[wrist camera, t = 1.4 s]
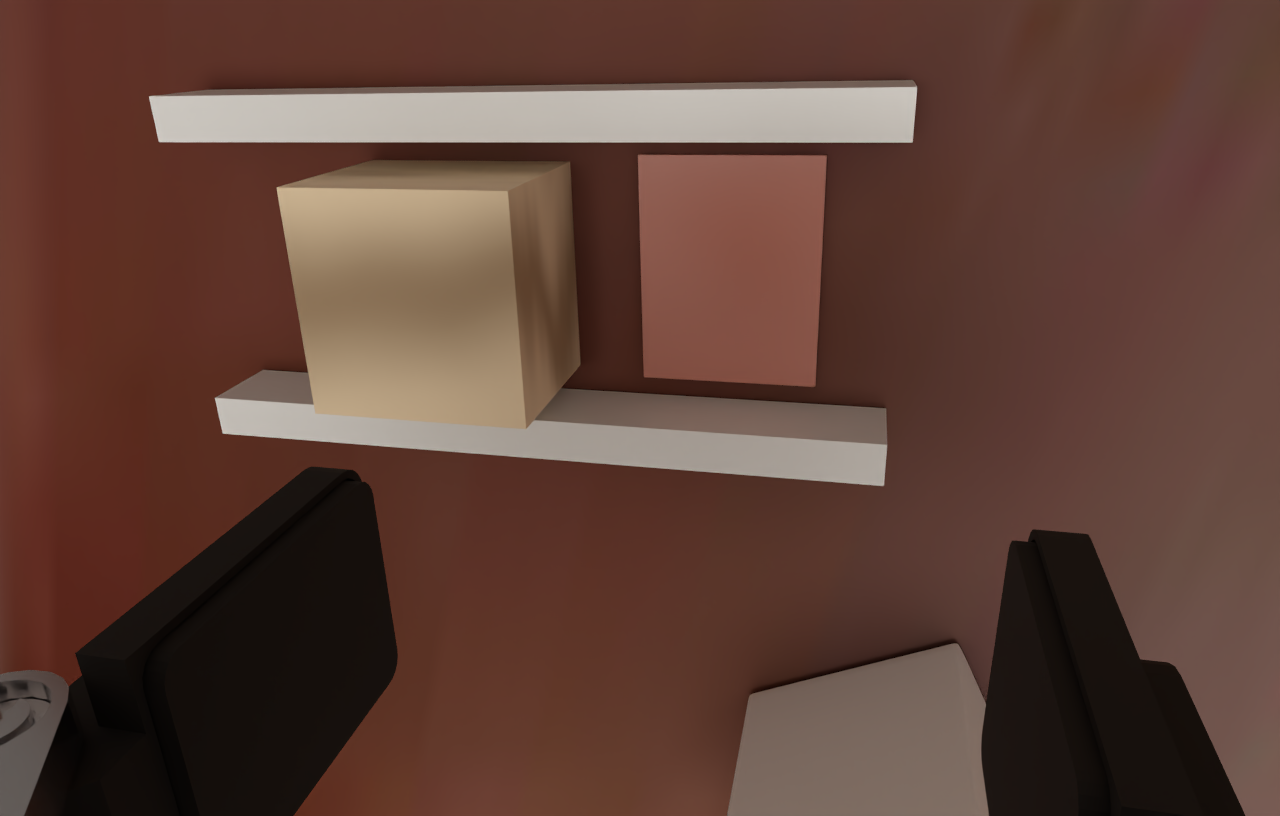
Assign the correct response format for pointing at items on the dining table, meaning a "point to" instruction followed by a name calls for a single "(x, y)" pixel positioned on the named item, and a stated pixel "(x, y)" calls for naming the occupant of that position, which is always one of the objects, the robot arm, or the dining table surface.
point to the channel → (670, 263)
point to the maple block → (435, 288)
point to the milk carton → (866, 742)
